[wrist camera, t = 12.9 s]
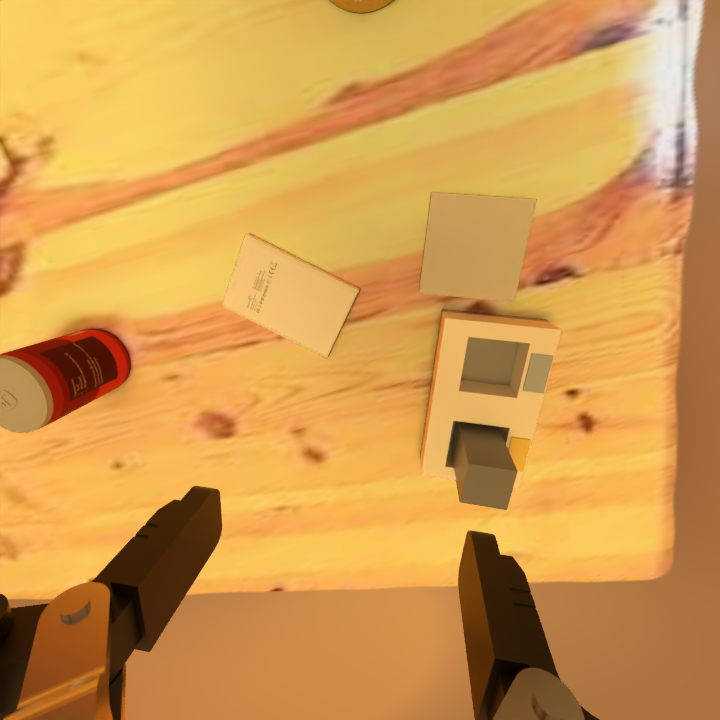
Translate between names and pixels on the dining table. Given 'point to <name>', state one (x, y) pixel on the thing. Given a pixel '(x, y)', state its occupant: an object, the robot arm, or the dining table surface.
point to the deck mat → (475, 246)
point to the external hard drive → (288, 295)
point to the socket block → (487, 383)
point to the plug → (482, 465)
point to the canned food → (58, 377)
